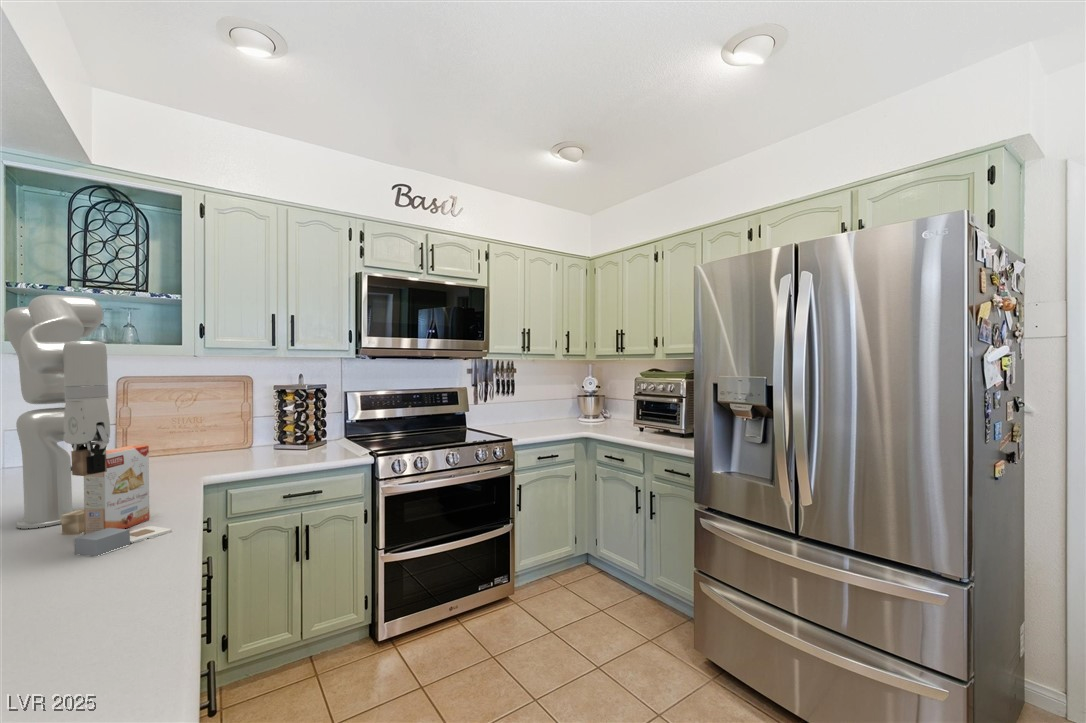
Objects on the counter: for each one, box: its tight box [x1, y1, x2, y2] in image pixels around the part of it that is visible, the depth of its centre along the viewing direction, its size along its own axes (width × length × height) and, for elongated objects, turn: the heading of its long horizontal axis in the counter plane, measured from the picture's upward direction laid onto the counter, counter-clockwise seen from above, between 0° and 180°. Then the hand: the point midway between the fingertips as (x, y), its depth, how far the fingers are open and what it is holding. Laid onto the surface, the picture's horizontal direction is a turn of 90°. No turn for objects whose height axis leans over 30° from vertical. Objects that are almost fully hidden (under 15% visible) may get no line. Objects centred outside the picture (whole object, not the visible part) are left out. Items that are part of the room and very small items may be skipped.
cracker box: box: [83, 444, 151, 535], centre depth 132 cm, size 14×6×21 cm, turn 179°
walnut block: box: [70, 447, 107, 477], centre depth 116 cm, size 4×4×6 cm
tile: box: [130, 525, 173, 544], centre depth 125 cm, size 9×9×1 cm
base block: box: [73, 528, 131, 557], centre depth 116 cm, size 7×7×4 cm
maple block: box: [61, 509, 85, 535], centre depth 130 cm, size 4×4×5 cm
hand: (90, 471), depth 116 cm, fingers closed on walnut block, 4 cm apart
